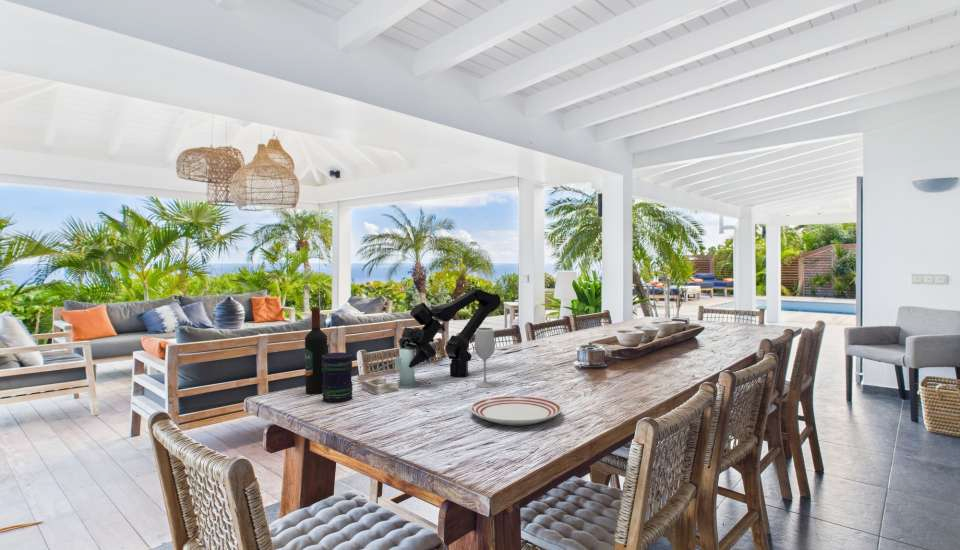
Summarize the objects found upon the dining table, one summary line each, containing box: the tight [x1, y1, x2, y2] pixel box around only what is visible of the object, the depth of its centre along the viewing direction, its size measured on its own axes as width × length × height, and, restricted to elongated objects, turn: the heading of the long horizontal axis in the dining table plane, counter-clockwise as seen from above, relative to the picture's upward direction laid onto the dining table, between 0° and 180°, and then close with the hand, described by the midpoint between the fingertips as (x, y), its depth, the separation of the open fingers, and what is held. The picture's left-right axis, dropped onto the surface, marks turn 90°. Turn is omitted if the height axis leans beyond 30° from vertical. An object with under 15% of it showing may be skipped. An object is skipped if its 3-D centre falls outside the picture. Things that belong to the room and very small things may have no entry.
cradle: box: [361, 377, 399, 395], centre depth 184 cm, size 9×10×3 cm
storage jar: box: [322, 352, 354, 404], centre depth 172 cm, size 10×10×15 cm
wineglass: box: [474, 327, 496, 388], centre depth 190 cm, size 8×8×21 cm
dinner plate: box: [469, 395, 563, 426], centre depth 153 cm, size 28×27×3 cm
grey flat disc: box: [397, 380, 422, 389], centre depth 191 cm, size 11×11×1 cm
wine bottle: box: [304, 306, 328, 395], centre depth 182 cm, size 8×8×30 cm
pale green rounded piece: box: [393, 348, 416, 386], centre depth 191 cm, size 8×6×13 cm
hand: (403, 365), depth 190 cm, fingers open, 8 cm apart
